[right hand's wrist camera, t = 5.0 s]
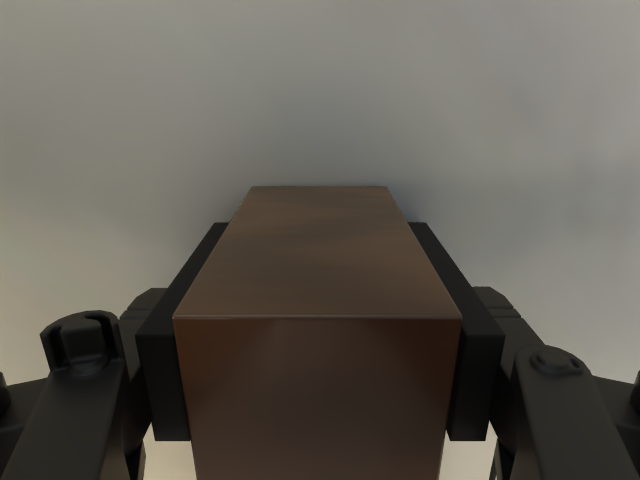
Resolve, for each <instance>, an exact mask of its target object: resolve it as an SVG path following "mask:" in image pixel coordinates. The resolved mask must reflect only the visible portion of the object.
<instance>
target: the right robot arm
mask: <svg viewBox="0 0 640 480" xmlns="http://www.w3.org/2000/svg"><path fill="white" fill-rule="evenodd" d="M228 225H229V223H214V224H213V226H212V227H211V228H210V230H209V231H208V233H207V234H206V235H205V237H204V238H203V240H202V241H201V242H200V244H199V245H198V247H197V248H196V249H195V251H194V252H193V254H192V255H191V256H190V258H189V259H188V261H187V262H186V263H185V265H184V266H183V268H182V269H181V270H180V272H179V273H178V275H177V276H176V277H175V279H174V280H173V282H172V283H171V284H170V286H169V287H168V288H151V289H149V290H147V291H146V292H144V293H142V294H141V295H139V296H138V297H136V298H135V299H134V301H133V302H132V303H131V304H130V305H129V307H128V308H127V310H125V312H124V313H123V314H122V315H121V316H120V320H118V319H117V316H115V315H114V314H113V313H111V312H107V311H102V310H94V311H84V312H80V313H75V314H71V315H69V316H66V317H64V318H61V319H58V320H57V321H55V322H54V323H52V324H50V325H49V326H47V327H46V328H45V329H44V330H43V331H42V332H41V333H40V338H41V341H42V344H43V348H44V351H45V354H46V358H47V361H48V365H49V368H50V373H49V375H48V377H47V378H43V379H39V380H34V381H29V382H24V383H19V384H14V385H9V386H7V385H6V382H5V379H4V376H3V373H2V372H0V480H143V477H144V468H145V459H146V454H145V448H144V443H143V438H144V436H145V434H146V432H147V429H148V427H149V425H150V423H151V422H152V427H153V432H154V437H155V441H190V440H191V437H190V431H189V424H188V418H187V411H186V405H185V398H184V391H183V385H182V378H181V372H180V365H179V359H178V352H177V346H176V339H175V332H174V326H173V319H172V316H173V314H174V312H175V311H176V309H177V307H178V306H179V304H180V303H181V301H182V299H183V298H184V296H185V294H186V293H187V291H188V290H189V288H190V286H191V285H192V283H193V281H194V280H195V278H196V277H197V275H198V273H199V272H200V270H201V268H202V267H203V265H204V264H205V262H206V260H207V259H208V257H209V255H210V254H211V252H212V251H213V249H214V247H215V246H216V244H217V243H218V241H219V239H220V238H221V236H222V234H223V233H224V231H225V230H226V228H227V226H228ZM408 225H409V227H410V228H411V230H412V232H413V233H414V235H415V237H416V238H417V240H418V242H419V243H420V245H421V247H422V249H423V250H424V252H425V254H426V255H427V257H428V259H429V260H430V262H431V264H432V266H433V267H434V269H435V271H436V272H437V274H438V276H439V277H440V279H441V281H442V283H443V284H444V286H445V288H446V289H447V291H448V293H449V294H450V296H451V298H452V300H453V301H454V303H455V305H456V306H457V308H458V310H459V311H460V313H461V315H462V324H461V331H460V337H459V344H458V351H457V358H456V365H455V371H454V378H453V385H452V392H451V398H450V405H449V412H448V419H447V426H446V430H447V433H448V436H449V439H450V441H485V439H486V434H487V429H488V424H489V420H490V423H491V425H492V427H493V429H494V431H495V433H496V435H497V437H498V438H497V443H496V448H495V453H494V457H493V462H492V467H491V472H490V477H489V480H495V478H496V476H497V480H640V371H639V372H638V375H637V378H636V380H635V383H634V384H630V383H625V382H620V381H615V380H610V379H605V378H600V377H597V376H593V375H592V374H591V372H590V370H589V369H588V368H587V366H586V365H585V364H584V362H583V361H581V360H580V359H578V358H577V357H576V356H574V355H573V354H571V353H569V352H566V351H564V350H562V349H560V348H557V347H553V346H549V345H545V344H544V343H543V342H542V340H541V339H540V338H539V337H538V336H537V334H536V333H535V332H534V331H533V330H532V328H531V327H530V326H529V325H528V324H527V322H526V321H525V320H524V319H523V318H521V315H520V314H519V313H518V312H517V310H516V309H514V308H513V306H512V304H511V303H510V302H509V301H508V300H507V298H506V297H505V296H504V295H502V294H500V293H499V292H497V291H495V290H494V289H492V288H491V287H471V285H470V284H469V283H468V281H467V280H466V278H465V277H464V275H463V274H462V273H461V271H460V270H459V268H458V267H457V266H456V264H455V263H454V261H453V260H452V259H451V257H450V256H449V254H448V253H447V252H446V250H445V249H444V247H443V246H442V245H441V243H440V242H439V240H438V239H437V238H436V236H435V235H434V233H433V232H432V231H431V229H430V228H429V226H428V225H427V224H426V223H408Z"/></svg>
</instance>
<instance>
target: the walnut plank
mask: <svg viewBox="0 0 640 480" xmlns="http://www.w3.org/2000/svg"><path fill="white" fill-rule="evenodd" d="M172 319H173V326H174V332H175V339H176V346H177V352H178V359H179V365H180V372H181V378H182V385H183V391H184V398H185V405H186V411H187V418H188V424H189V431H190V437H191V444H192V451H193V457H194V464H195V470H196V477H197V480H439V473H440V466H441V460H442V453H443V446H444V439H445V432H446V426H447V419H448V412H449V405H450V398H451V392H452V385H453V378H454V371H455V365H456V358H457V351H458V344H459V337H460V331H461V324H462V315H461V313H460V311H459V310H458V308H457V306H456V305H455V303H454V301H453V300H452V298H451V296H450V294H449V293H448V291H447V289H446V288H445V286H444V284H443V283H442V281H441V279H440V277H439V276H438V274H437V272H436V271H435V269H434V267H433V266H432V264H431V262H430V260H429V259H428V257H427V255H426V254H425V252H424V250H423V249H422V247H421V245H420V243H419V242H418V240H417V238H416V237H415V235H414V233H413V232H412V230H411V228H410V227H409V225H408V223H407V221H406V220H405V218H404V216H403V215H402V213H401V211H400V210H399V208H398V206H397V204H396V203H395V201H394V199H393V198H392V196H391V194H390V193H389V191H388V189H387V187H251V189H250V191H249V192H248V194H247V195H246V197H245V199H244V200H243V202H242V204H241V205H240V207H239V208H238V210H237V212H236V213H235V215H234V217H233V218H232V220H231V221H230V223H229V225H228V226H227V228H226V230H225V231H224V233H223V234H222V236H221V238H220V239H219V241H218V243H217V244H216V246H215V247H214V249H213V251H212V252H211V254H210V255H209V257H208V259H207V260H206V262H205V264H204V265H203V267H202V268H201V270H200V272H199V273H198V275H197V277H196V278H195V280H194V281H193V283H192V285H191V286H190V288H189V290H188V291H187V293H186V294H185V296H184V298H183V299H182V301H181V303H180V304H179V306H178V307H177V309H176V311H175V312H174V314H173V316H172Z"/></svg>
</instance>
